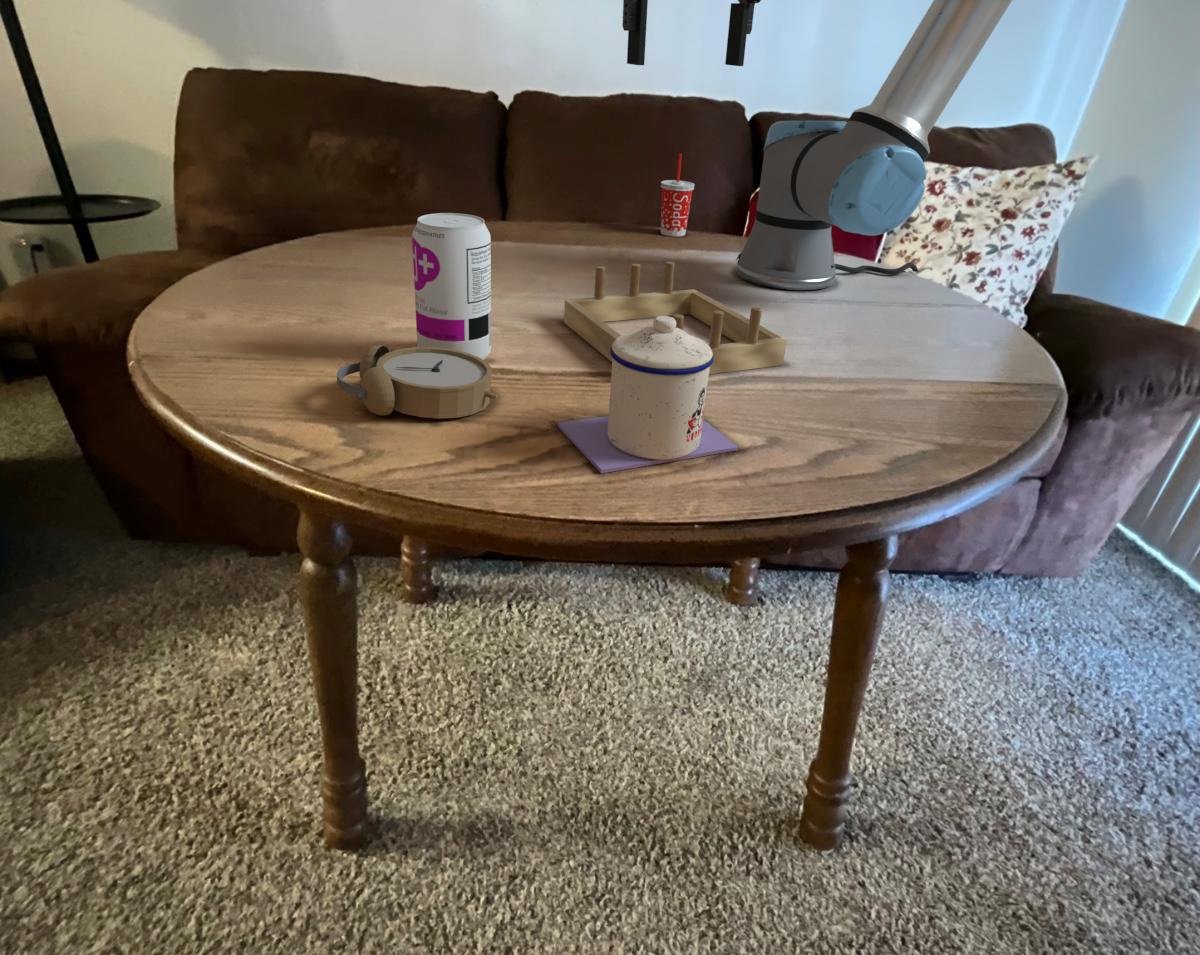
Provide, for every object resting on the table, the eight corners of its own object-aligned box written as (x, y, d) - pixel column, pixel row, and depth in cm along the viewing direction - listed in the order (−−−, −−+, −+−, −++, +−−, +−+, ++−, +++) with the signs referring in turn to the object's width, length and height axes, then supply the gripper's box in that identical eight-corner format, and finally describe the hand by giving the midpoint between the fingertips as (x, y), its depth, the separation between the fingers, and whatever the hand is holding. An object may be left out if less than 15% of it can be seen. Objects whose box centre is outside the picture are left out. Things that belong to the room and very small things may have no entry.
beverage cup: (654, 235, 155) (661, 154, 148) (658, 228, 160) (665, 150, 153) (688, 238, 154) (696, 157, 147) (690, 231, 159) (698, 152, 153)
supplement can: (431, 372, 91) (425, 230, 84) (409, 347, 97) (402, 213, 90) (501, 363, 94) (502, 226, 87) (476, 339, 101) (474, 210, 93)
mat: (684, 408, 86) (684, 404, 86) (737, 450, 78) (738, 446, 78) (557, 426, 81) (557, 422, 81) (601, 473, 73) (601, 469, 73)
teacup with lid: (707, 465, 75) (724, 338, 69) (605, 460, 74) (613, 333, 69) (694, 409, 85) (707, 296, 79) (603, 405, 85) (611, 291, 79)
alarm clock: (503, 390, 80) (338, 370, 75) (494, 437, 82) (333, 420, 77) (487, 349, 90) (340, 329, 85) (479, 392, 92) (335, 375, 87)
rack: (692, 310, 116) (698, 259, 112) (783, 365, 99) (793, 306, 96) (563, 322, 108) (565, 268, 105) (637, 383, 91) (643, 321, 88)
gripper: (776, -143, 97) (754, 63, 107) (580, -170, 86) (576, 61, 97) (819, -151, 91) (791, 67, 101) (614, -181, 81) (606, 66, 91)
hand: (686, 65), depth 99 cm, fingers open, 13 cm apart
